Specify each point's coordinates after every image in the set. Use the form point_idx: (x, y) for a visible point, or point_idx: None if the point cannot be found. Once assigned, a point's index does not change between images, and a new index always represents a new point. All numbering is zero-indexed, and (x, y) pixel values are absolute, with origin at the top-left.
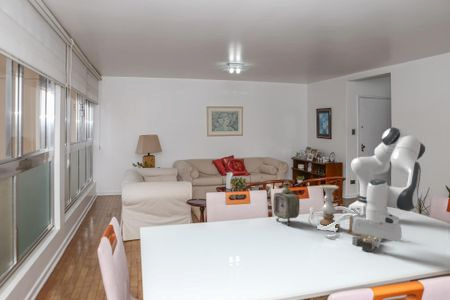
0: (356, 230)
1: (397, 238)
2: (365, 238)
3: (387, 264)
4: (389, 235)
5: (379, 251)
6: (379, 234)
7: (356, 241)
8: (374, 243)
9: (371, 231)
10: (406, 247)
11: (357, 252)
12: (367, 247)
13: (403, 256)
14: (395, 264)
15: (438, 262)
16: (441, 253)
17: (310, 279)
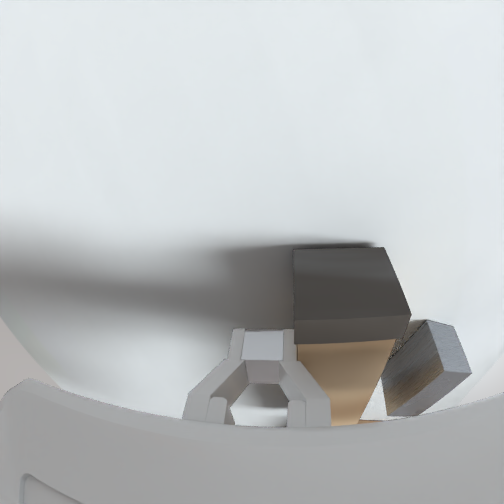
0: (502, 429)
1: (15, 396)
2: (370, 422)
3: (61, 53)
4: (64, 438)
5: (243, 316)
6: (179, 463)
7: (440, 350)
8: (271, 354)
9: (305, 496)
10: (169, 411)
11: (415, 167)
12: (337, 274)
13: (92, 309)
14: (31, 113)
15: (5, 310)
16: (70, 391)
17: None
